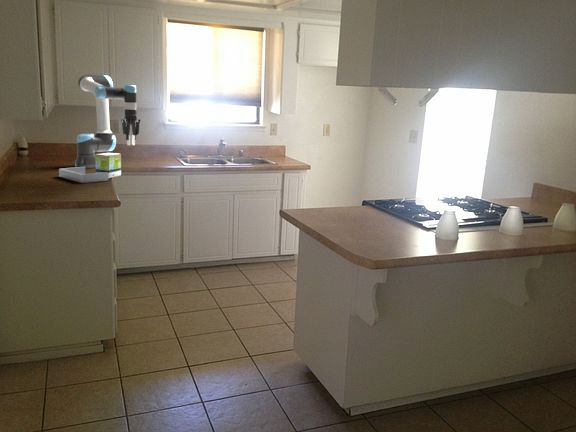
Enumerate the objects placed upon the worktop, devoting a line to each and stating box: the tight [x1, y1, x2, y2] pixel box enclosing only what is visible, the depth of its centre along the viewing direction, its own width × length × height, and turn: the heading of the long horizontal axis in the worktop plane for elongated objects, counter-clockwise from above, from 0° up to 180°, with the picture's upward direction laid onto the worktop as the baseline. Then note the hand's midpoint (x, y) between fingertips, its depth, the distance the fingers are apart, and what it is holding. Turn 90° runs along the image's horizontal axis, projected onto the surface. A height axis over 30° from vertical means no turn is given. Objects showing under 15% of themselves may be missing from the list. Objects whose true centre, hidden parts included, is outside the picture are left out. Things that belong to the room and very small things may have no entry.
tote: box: [58, 166, 109, 184], centre depth 327 cm, size 17×29×5 cm, turn 49°
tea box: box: [95, 152, 122, 179], centre depth 338 cm, size 15×10×15 cm, turn 168°
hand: (131, 145), depth 348 cm, fingers open, 3 cm apart
